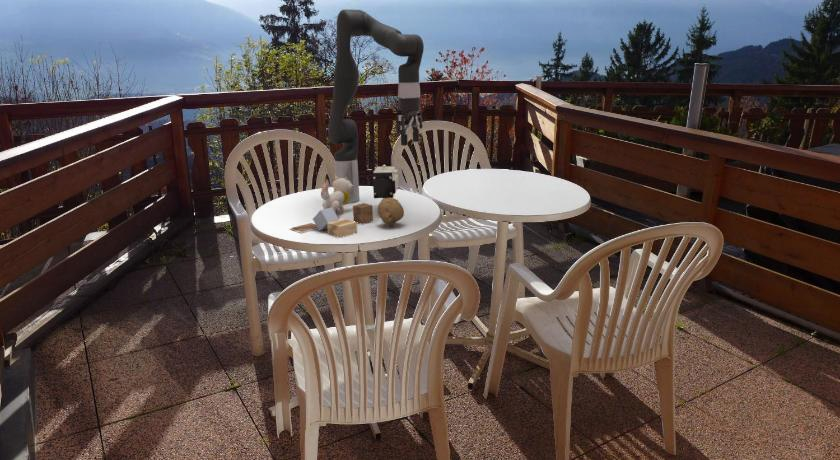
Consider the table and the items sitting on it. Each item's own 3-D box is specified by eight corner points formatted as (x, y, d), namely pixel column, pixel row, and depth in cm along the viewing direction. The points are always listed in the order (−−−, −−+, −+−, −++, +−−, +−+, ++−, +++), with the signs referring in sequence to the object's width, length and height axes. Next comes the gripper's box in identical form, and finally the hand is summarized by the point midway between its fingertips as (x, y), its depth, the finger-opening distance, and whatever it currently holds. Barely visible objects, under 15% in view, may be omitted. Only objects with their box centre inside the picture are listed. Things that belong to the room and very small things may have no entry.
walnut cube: (353, 221, 207) (352, 205, 205) (364, 218, 210) (363, 203, 208) (362, 224, 203) (361, 207, 202) (373, 221, 207) (372, 205, 205)
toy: (358, 209, 224) (355, 171, 219) (335, 222, 206) (332, 181, 202) (337, 208, 227) (334, 170, 222) (313, 220, 209) (310, 180, 205)
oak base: (328, 234, 193) (327, 222, 192) (344, 229, 198) (343, 218, 197) (340, 238, 189) (339, 226, 187) (357, 233, 193) (356, 222, 192)
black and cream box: (396, 216, 212) (394, 169, 207) (373, 216, 212) (371, 169, 207) (400, 204, 229) (399, 160, 224) (379, 204, 230) (377, 161, 225)
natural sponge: (403, 221, 205) (402, 194, 202) (405, 228, 197) (404, 200, 194) (377, 223, 204) (376, 195, 201) (379, 230, 196) (378, 201, 193)
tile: (289, 229, 199) (289, 227, 199) (311, 223, 205) (311, 222, 205) (301, 233, 194) (300, 231, 194) (323, 227, 200) (323, 225, 200)
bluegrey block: (312, 219, 197) (320, 210, 193) (323, 215, 201) (331, 207, 197) (319, 231, 196) (327, 222, 192) (330, 227, 200) (338, 219, 196)
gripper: (409, 94, 203) (410, 140, 208) (389, 97, 191) (390, 145, 196) (428, 94, 199) (428, 141, 204) (408, 97, 187) (409, 147, 192)
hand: (410, 143), depth 200 cm, fingers open, 8 cm apart
